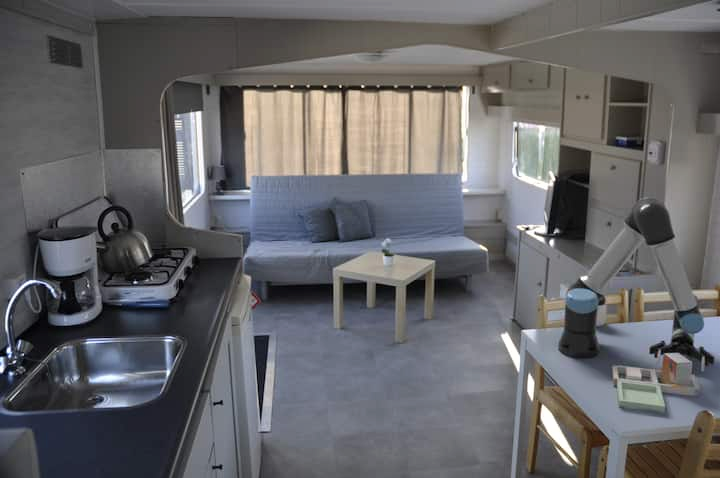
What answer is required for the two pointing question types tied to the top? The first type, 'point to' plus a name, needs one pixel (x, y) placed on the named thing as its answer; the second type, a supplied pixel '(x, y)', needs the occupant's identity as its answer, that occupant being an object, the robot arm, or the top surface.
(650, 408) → the tray
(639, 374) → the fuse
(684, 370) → the small box
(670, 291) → the robot arm
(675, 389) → the beige divided frame
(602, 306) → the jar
